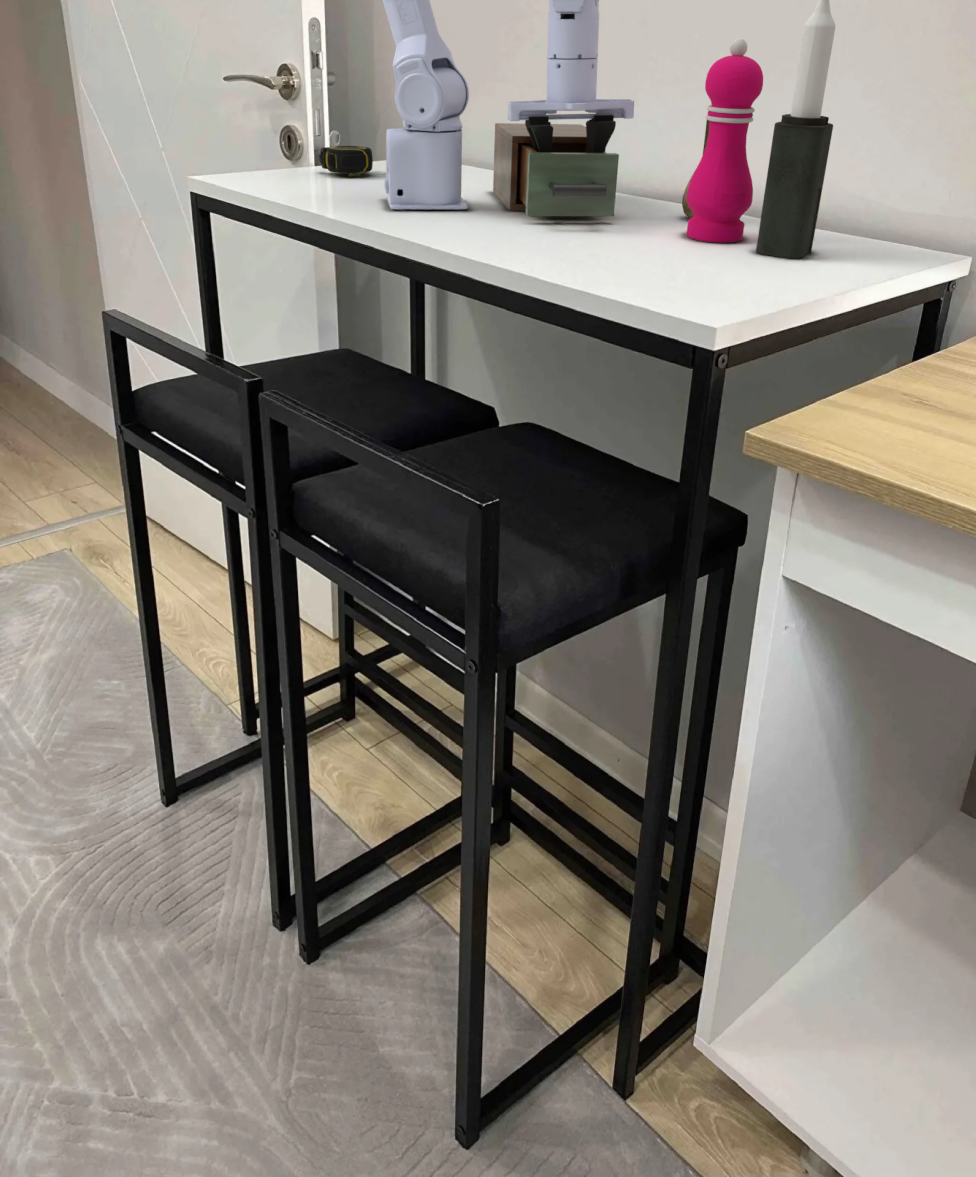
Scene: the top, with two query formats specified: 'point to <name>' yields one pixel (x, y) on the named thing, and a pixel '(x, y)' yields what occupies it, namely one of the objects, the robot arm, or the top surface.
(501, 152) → the cabinet
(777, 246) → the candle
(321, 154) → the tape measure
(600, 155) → the drawer
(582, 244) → the top surface
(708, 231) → the pepper mill
